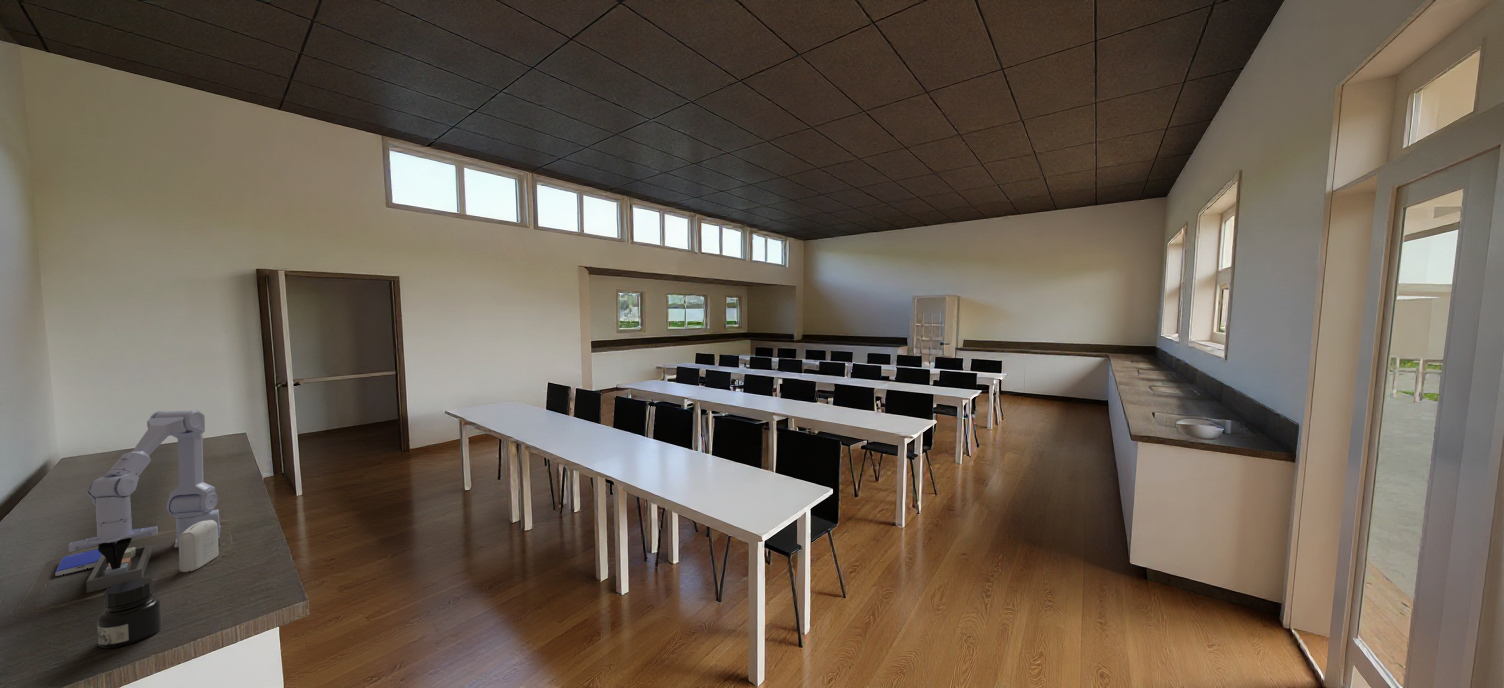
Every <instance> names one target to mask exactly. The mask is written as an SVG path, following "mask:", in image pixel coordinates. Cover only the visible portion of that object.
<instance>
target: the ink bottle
mask: <svg viewBox="0 0 1504 688" xmlns="http://www.w3.org/2000/svg"><path fill="white" fill-rule="evenodd" d="M153 595H154V581H153V577H143V578H140V579H134V580H130V581H126V582H123V583H120V584H117V585H114V586H112V587H110V588H106V589H105V590H104V591H103V598H104V600H103V602H104V608H105V610H104V611H102V612H101V613H100V615H99V616H98V617H97V622H96V625H97V641H98V642H97V643H98V646H99V647H100V648H103V649H116V648H120V646H121V647H124V646H123V645H125V646H128V645H131V644H134V643H136V642H137V643H138V642H139V641H142V640H143V639H146V638H149V637H151V636H153V635H154V634H156V633H157V632H159V631H160V630H161V628H162V627H163V626H162V625H163V619H162V618H163V617H162V615H163V613H162V602H161V599H160V598H157V597H154V596H153ZM127 644H128V645H127ZM115 647H116V648H115Z"/></svg>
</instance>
